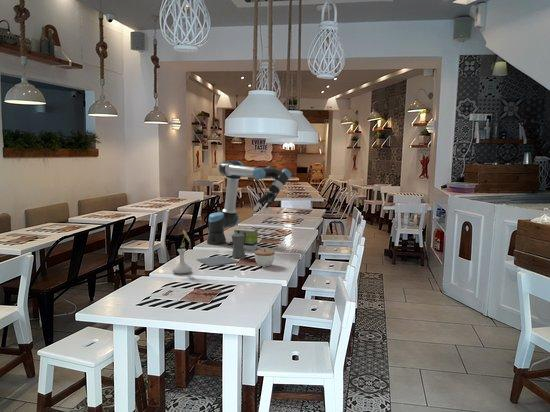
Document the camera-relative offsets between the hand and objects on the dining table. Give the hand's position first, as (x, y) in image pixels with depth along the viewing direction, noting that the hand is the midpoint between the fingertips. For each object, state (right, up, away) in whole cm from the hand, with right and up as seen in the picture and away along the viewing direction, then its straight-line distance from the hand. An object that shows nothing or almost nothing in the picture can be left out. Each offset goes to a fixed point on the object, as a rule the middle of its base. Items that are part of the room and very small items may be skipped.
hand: (258, 211), depth 302 cm
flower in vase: (-43, -36, -45) cm, 72 cm away
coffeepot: (-13, -31, -5) cm, 34 cm away
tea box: (-10, -28, +18) cm, 35 cm away
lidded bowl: (+5, -34, -29) cm, 45 cm away
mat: (-26, -33, -19) cm, 46 cm away
